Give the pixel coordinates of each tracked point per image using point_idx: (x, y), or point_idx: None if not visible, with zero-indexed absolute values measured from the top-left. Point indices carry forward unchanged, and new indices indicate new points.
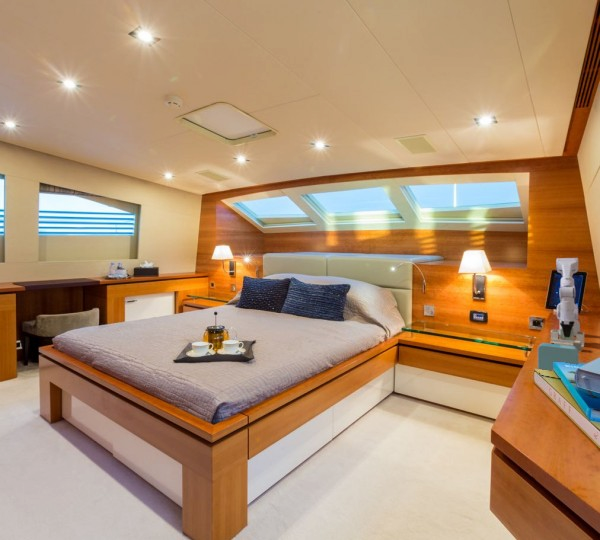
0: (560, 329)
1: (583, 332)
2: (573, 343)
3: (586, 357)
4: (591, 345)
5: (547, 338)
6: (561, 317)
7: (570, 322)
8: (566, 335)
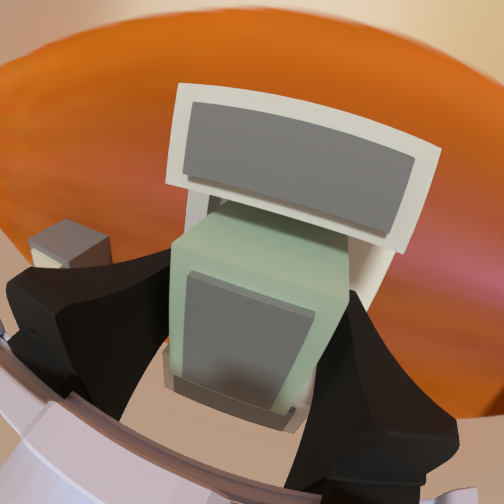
0: (172, 245)
1: (287, 429)
2: (31, 237)
3: (18, 239)
4: None
5: (479, 124)
6: (17, 470)
7: (294, 487)
8: None
